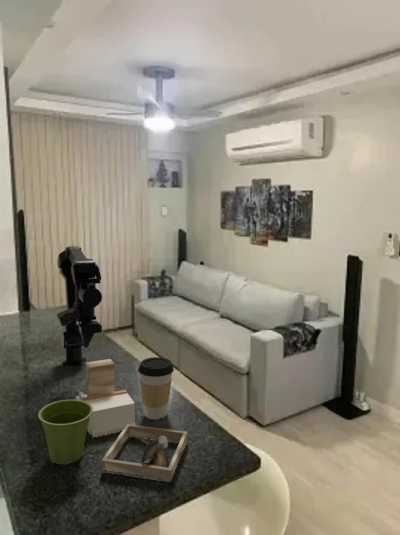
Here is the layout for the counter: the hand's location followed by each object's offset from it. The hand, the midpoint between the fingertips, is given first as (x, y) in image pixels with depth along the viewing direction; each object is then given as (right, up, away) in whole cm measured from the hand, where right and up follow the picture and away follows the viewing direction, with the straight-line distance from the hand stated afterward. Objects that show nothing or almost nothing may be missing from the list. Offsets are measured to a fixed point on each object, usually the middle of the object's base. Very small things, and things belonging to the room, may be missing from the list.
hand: (85, 347), depth 135 cm
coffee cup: (+24, -16, -17) cm, 33 cm away
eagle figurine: (+26, -19, -40) cm, 52 cm away
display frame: (+24, -19, -37) cm, 48 cm away
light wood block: (+8, -13, -15) cm, 21 cm away
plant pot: (+6, -18, -38) cm, 42 cm away
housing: (+10, -15, -18) cm, 25 cm away
